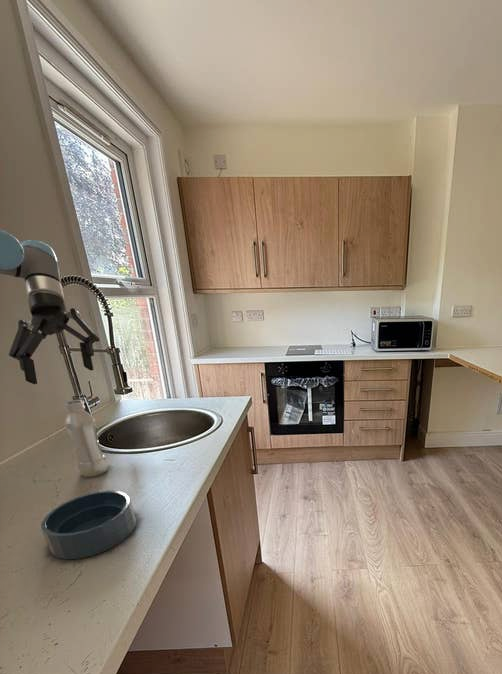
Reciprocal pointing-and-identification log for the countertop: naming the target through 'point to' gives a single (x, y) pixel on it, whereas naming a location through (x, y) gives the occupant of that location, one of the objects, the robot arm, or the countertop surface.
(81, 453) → the plastic bottle
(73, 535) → the bowl
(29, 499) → the countertop surface
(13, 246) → the robot arm
